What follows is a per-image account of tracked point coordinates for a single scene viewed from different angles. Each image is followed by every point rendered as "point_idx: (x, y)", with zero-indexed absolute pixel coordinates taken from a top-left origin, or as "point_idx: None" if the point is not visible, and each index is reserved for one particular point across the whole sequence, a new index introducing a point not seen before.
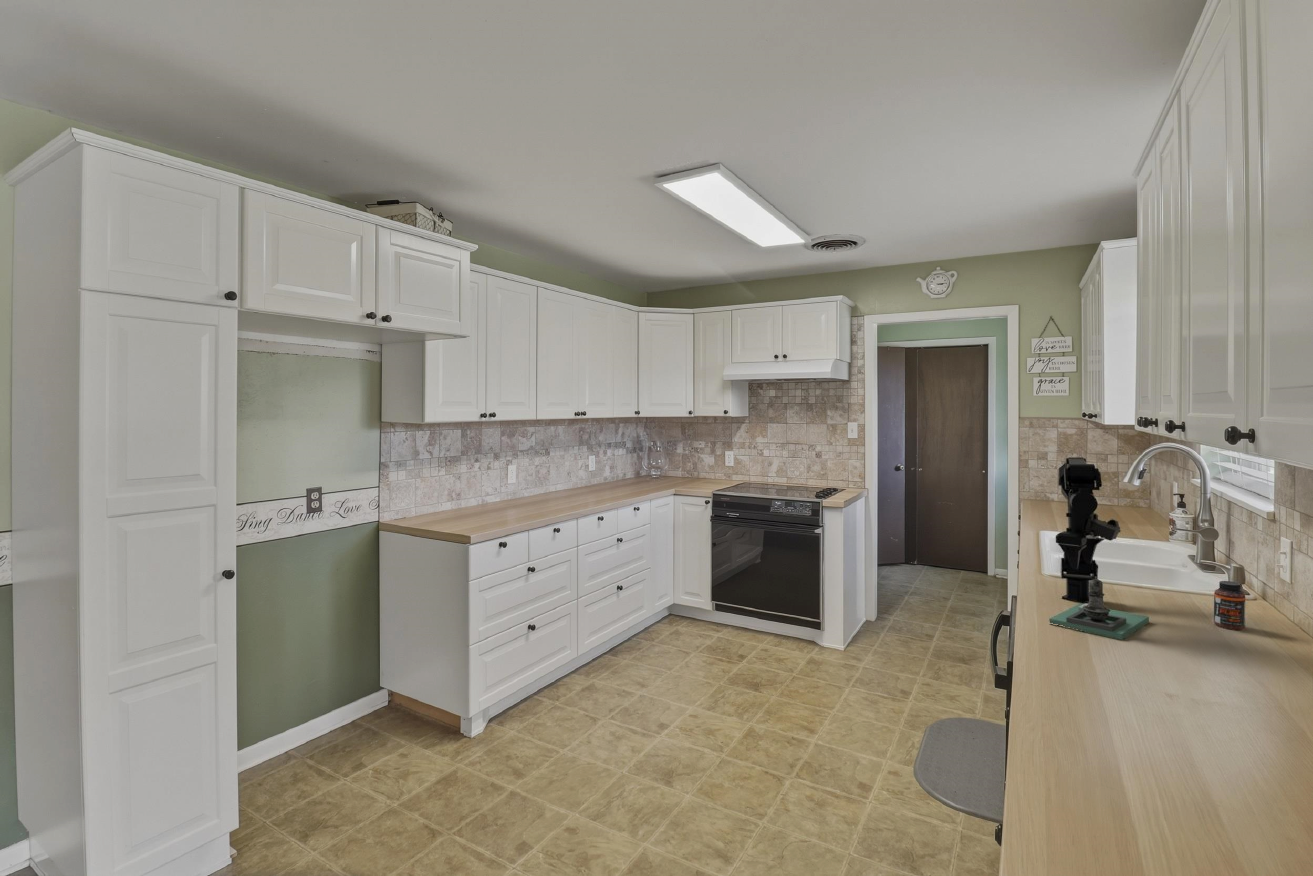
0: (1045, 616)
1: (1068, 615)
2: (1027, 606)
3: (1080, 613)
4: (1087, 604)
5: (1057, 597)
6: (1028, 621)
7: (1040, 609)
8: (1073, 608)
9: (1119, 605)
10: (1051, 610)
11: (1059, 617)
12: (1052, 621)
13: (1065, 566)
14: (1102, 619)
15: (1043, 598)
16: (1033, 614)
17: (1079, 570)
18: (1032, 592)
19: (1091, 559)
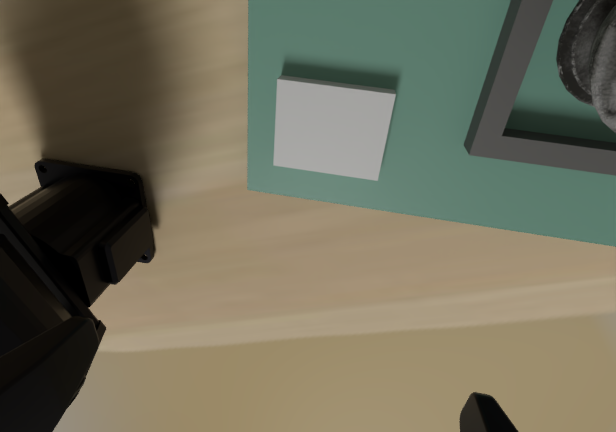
0: (482, 264)
1: (529, 193)
2: (360, 329)
3: (568, 145)
4: (292, 153)
5: (144, 271)
6: (609, 302)
7: (374, 292)
8: (365, 196)
9: (34, 37)
10: (362, 260)
11: (600, 219)
12: None
13: (83, 383)
14: (595, 10)
15: (200, 304)
16: (474, 301)
17: (43, 308)
18: (151, 338)
19: (44, 353)
